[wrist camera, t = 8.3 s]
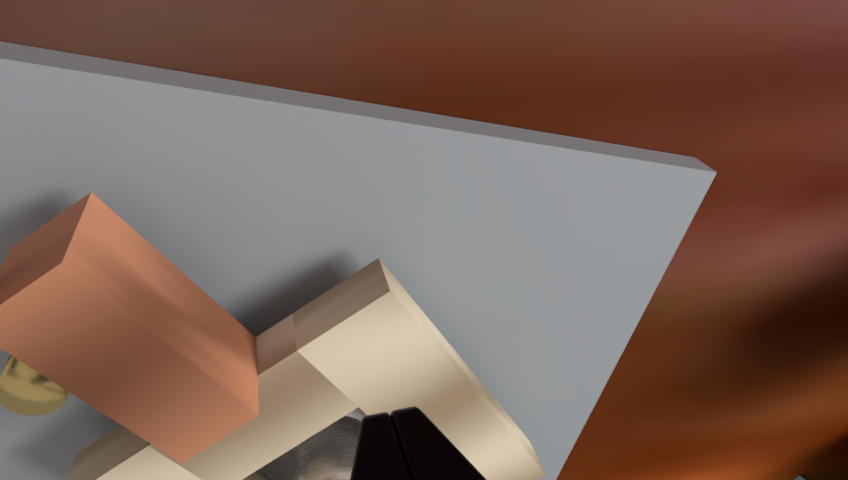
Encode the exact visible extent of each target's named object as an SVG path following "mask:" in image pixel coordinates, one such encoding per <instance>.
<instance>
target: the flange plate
mask: <svg viewBox="0 0 848 480" xmlns="http://www.w3.org/2000/svg"><path fill="white" fill-rule="evenodd" d="M0 349H2V350H4V351H5V352H7V353H8V354H10V355H11V356H13V357H15V358H16V359H18V360H19V361H21V362H23V363H24V364H26V365H27V366H29V367H30V368H32V369H34V370H35V371H37V372H38V373H40V374H41V375H43V376H45V377H46V378H48V379H49V380H51V381H53V382H54V383H56V384H57V385H59V386H60V387H62V388H64V389H65V390H67V391H68V392H70V393H71V394H73V395H75V396H76V397H78V398H79V399H81V400H83V401H84V402H86V403H87V404H89V405H90V406H92V407H94V408H95V409H97V410H98V411H100V412H102V413H103V414H105V415H106V416H108V417H109V418H111V419H113V420H114V421H116V422H117V423H119V424H120V426H118V427H116V428H115V429H113V430H112V431H110V432H109V433H107V434H106V435H104V436H103V437H101V438H99V439H98V440H96V441H95V442H93V443H92V444H90V445H89V446H87V447H86V448H84V449H82V450H81V451H79V452H78V453H76V454H75V456H74V460H73V463H72V467H71V471H70V475H69V479H68V480H266V479H264V478H263V477H262V476H260V475H259V474H257V473H256V472H255V471H257V470H258V469H260V468H262V467H263V466H265V465H266V464H268V463H270V462H271V461H273V460H274V459H276V458H278V457H279V456H281V455H282V454H284V453H286V452H287V451H289V450H290V449H292V448H294V447H295V446H297V445H298V444H300V443H302V442H303V441H305V440H307V439H308V438H310V437H311V436H313V435H315V434H316V433H318V432H319V431H321V430H323V429H324V428H326V427H327V426H329V425H331V424H332V423H334V422H335V421H337V420H339V419H340V418H342V417H343V416H345V415H347V414H348V413H350V412H351V411H353V410H355V409H356V408H358V407H359V408H360V409H361V410H362V411H363V412H364V413H365V414H366V415H372V414H377V413H382V412H387V413H389V414H391V412H392V411H394V410H397V409H402V408H407V407H412V406H415V407H418V408H419V409H420V410H421V411H422V412H423V413H424V414H425V415H426V416H427V417H428V418H429V419H430V420H431V421H432V422H433V423H434V424H435V425H436V426H437V427H438V429H439V430H440V431H441V432H442V433H443V434H444V435H445V436H446V437H447V438H448V439H449V440H450V441H451V442H452V443H453V444H454V446H455V447H456V448H457V449H458V450H459V451H460V452H461V453H462V454H463V455H464V456H465V457H466V458H467V459H468V460H469V461H470V463H471V464H472V465H473V466H474V467H475V468H476V469H477V470H478V471H479V472H480V473H481V474H482V475H483V476H484V477H485V478H486V480H539V479H540V478H542V477H544V476H545V475H546V474H545V472H544V470H543V468H542V466H541V464H540V462H539V460H538V458H537V456H536V453H535V451H534V449H533V447H532V445H531V443H530V441H529V440H528V439H527V437H526V436H525V435H524V434H523V432H522V431H521V430H520V429H519V428H518V426H517V425H516V424H515V423H514V422H513V420H512V419H511V418H510V417H509V415H508V414H507V413H506V412H505V411H504V409H503V408H502V407H501V406H500V405H499V403H498V402H497V401H496V400H495V398H494V397H493V396H492V395H491V394H490V392H489V391H488V390H487V389H486V388H485V386H484V385H483V384H482V383H481V381H480V380H479V379H478V378H477V377H476V375H475V374H474V373H473V372H472V371H471V369H470V368H469V367H468V366H467V364H466V363H465V362H464V361H463V360H462V358H461V357H460V356H459V355H458V354H457V352H456V351H455V350H454V349H453V347H452V346H451V345H450V344H449V343H448V341H447V340H446V339H445V338H444V337H443V335H442V334H441V333H440V332H439V330H438V329H437V328H436V327H435V326H434V324H433V323H432V322H431V321H430V320H429V318H428V317H427V316H426V315H425V313H424V312H423V311H422V310H421V309H420V307H419V306H418V305H417V304H416V303H415V301H414V300H413V299H412V298H411V296H410V295H409V294H408V293H407V292H406V290H405V289H404V288H403V287H402V286H401V284H400V283H399V282H398V281H397V279H396V278H395V277H394V276H393V275H392V273H391V272H390V271H389V270H388V269H387V267H386V266H385V265H384V264H383V262H382V261H381V260H380V259H379V258H378V259H376V260H375V261H373V262H371V263H370V264H368V265H367V266H365V267H364V268H362V269H361V270H359V271H358V272H356V273H354V274H353V275H351V276H350V277H348V278H347V279H345V280H344V281H342V282H341V283H339V284H337V285H336V286H334V287H333V288H331V289H330V290H328V291H327V292H325V293H324V294H322V295H320V296H319V297H317V298H316V299H314V300H313V301H311V302H310V303H308V304H307V305H305V306H303V307H302V308H300V309H299V310H297V311H296V312H294V313H293V314H291V315H290V316H288V317H286V318H285V319H283V320H282V321H280V322H279V323H277V324H276V325H274V326H273V327H271V328H269V329H268V330H266V331H265V332H263V333H262V334H260V335H259V336H257V337H255V336H254V335H253V334H252V333H251V332H249V331H248V330H247V329H246V328H245V327H244V326H243V325H241V324H240V323H239V322H238V321H237V320H236V319H235V318H234V317H232V316H231V315H230V314H229V313H228V312H227V311H226V310H224V309H223V308H222V307H221V306H220V305H219V304H218V303H217V302H215V301H214V300H213V299H212V298H211V297H210V296H209V295H208V294H206V293H205V292H204V291H203V290H202V289H201V288H200V287H198V286H197V285H196V284H195V283H194V282H193V281H192V280H191V279H189V278H188V277H187V276H186V275H185V274H184V273H183V272H181V271H180V270H179V269H178V268H177V267H176V266H175V265H174V264H172V263H171V262H170V261H169V260H168V259H167V258H166V257H165V256H163V255H162V254H161V253H160V252H159V251H158V250H157V249H155V248H154V247H153V246H152V245H151V244H150V243H149V242H148V241H146V240H145V239H144V238H143V237H142V236H141V235H140V234H138V233H137V232H136V231H135V230H134V229H133V228H132V227H131V226H129V225H128V224H127V223H126V222H125V221H124V220H123V219H121V218H120V217H119V216H118V215H117V214H116V213H115V212H114V211H112V210H111V209H110V208H109V207H108V206H107V205H106V204H105V203H103V202H102V201H101V200H100V199H99V198H98V197H97V196H95V195H94V194H93V193H92V192H91V193H89V194H88V195H86V196H85V197H83V198H82V199H80V200H79V201H78V202H76V203H75V204H73V205H72V206H70V207H69V208H68V209H66V210H65V211H63V212H62V213H60V214H59V215H57V216H56V217H55V218H53V219H52V220H50V221H49V222H47V223H46V224H44V225H43V226H42V227H40V228H39V229H37V230H36V231H34V232H33V233H31V234H30V235H29V236H27V237H26V238H24V239H23V240H21V241H20V242H19V243H17V244H16V245H14V246H13V247H12V248H11V250H10V252H9V253H8V255H7V257H6V259H5V260H4V262H3V264H2V266H1V268H0Z"/></svg>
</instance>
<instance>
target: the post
mask: <svg viewBox="0 0 848 480" xmlns="http://www.w3.org/2000/svg"><path fill="white" fill-rule="evenodd" d="M364 416H367V415H366V414H365V413H364V412H363V411H362V410H361V409H360V408H359V407H358V408H356V409H355V410H353V411H351V412H350V413H348V414H347V415H345V416H343V417H342V418H340V419H339V420H337V421H335V422H334V423H332V424H331V425H329V426H327V427H326V428H324V429H323V430H321V431H319V432H318V433H316V434H315V435H313V436H311V437H310V438H308V439H307V440H305V441H303V442H302V443H300V444H298V445H297V446H295V447H294V448H292V449H290V450H289V451H287V452H286V453H284V454H282V455H281V456H279V457H278V458H276V459H274V460H273V461H271V462H270V463H268V464H266V465H265V466H263V467H262V468H260V469H258V470H257V471H255V472H256V473H257V474H259V475H260V476H262V477H263V478H264V479H266V480H350V477H351V472H352V467H353V462H354V456H355V451H356V446H357V441H358V436H359V431H360V425H361V421H362V419H363V417H364Z"/></svg>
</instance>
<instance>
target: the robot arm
mask: <svg viewBox="0 0 848 480" xmlns="http://www.w3.org/2000/svg"><path fill="white" fill-rule="evenodd" d="M350 480H486V478H485V477H484V476H483V475H482V474H481V473H480V472H479V471H478V470H477V469H476V468H475V467H474V466H473V465H472V464H471V463H470V461H469V460H468V459H467V458H466V457H465V456H464V455H463V454H462V453H461V452H460V451H459V450H458V449H457V448H456V447H455V446H454V444H453V443H452V442H451V441H450V440H449V439H448V438H447V437H446V436H445V435H444V434H443V433H442V432H441V431H440V430H439V429H438V427H437V426H436V425H435V424H434V423H433V422H432V421H431V420H430V419H429V418H428V417H427V416H426V415H425V414H424V413H423V412H422V411H421V410H420V409H419V408H418V407H415V406H412V407H407V408H402V409H397V410H394V411H392V412H391V414H389V413H387V412H382V413H377V414H372V415H367V416H364V417H363V419H362V421H361V425H360V431H359V436H358V441H357V446H356V451H355V456H354V462H353V467H352V472H351V477H350Z"/></svg>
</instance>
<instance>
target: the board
mask: <svg viewBox="0 0 848 480" xmlns="http://www.w3.org/2000/svg"><path fill="white" fill-rule="evenodd" d="M716 173H717V172H716V171H714V170H713V169H711V168H710V167H708V166H707V165H705V164H704V163H702V162H701V161H699V160H698V159H696V158H695V157H689V156H683V155H677V154H671V153H665V152H659V151H653V150H647V149H641V148H635V147H629V146H623V145H618V144H612V143H606V142H600V141H594V140H588V139H582V138H576V137H570V136H564V135H558V134H552V133H546V132H540V131H534V130H528V129H522V128H516V127H510V126H504V125H498V124H492V123H486V122H480V121H474V120H468V119H462V118H456V117H450V116H444V115H438V114H432V113H426V112H420V111H414V110H408V109H402V108H396V107H390V106H384V105H378V104H372V103H366V102H360V101H354V100H348V99H342V98H336V97H330V96H324V95H318V94H312V93H306V92H300V91H294V90H288V89H282V88H276V87H270V86H264V85H258V84H252V83H246V82H240V81H234V80H229V79H223V78H217V77H211V76H205V75H199V74H193V73H187V72H181V71H175V70H169V69H163V68H157V67H151V66H145V65H139V64H133V63H127V62H121V61H115V60H109V59H103V58H97V57H91V56H85V55H79V54H73V53H67V52H61V51H55V50H49V49H43V48H37V47H31V46H25V45H19V44H13V43H7V42H1V41H0V268H1V266H2V264H3V262H4V260H5V259H6V257H7V255H8V253H9V252H10V250H11V248H12V247H13V246H14V245H16V244H17V243H19V242H20V241H21V240H23V239H24V238H26V237H27V236H29V235H30V234H31V233H33V232H34V231H36V230H37V229H39V228H40V227H42V226H43V225H44V224H46V223H47V222H49V221H50V220H52V219H53V218H55V217H56V216H57V215H59V214H60V213H62V212H63V211H65V210H66V209H68V208H69V207H70V206H72V205H73V204H75V203H76V202H78V201H79V200H80V199H82V198H83V197H85V196H86V195H88V194H89V193H91V192H92V193H93V194H94V195H95V196H97V197H98V198H99V199H100V200H101V201H102V202H103V203H105V204H106V205H107V206H108V207H109V208H110V209H111V210H112V211H114V212H115V213H116V214H117V215H118V216H119V217H120V218H121V219H123V220H124V221H125V222H126V223H127V224H128V225H129V226H131V227H132V228H133V229H134V230H135V231H136V232H137V233H138V234H140V235H141V236H142V237H143V238H144V239H145V240H146V241H148V242H149V243H150V244H151V245H152V246H153V247H154V248H155V249H157V250H158V251H159V252H160V253H161V254H162V255H163V256H165V257H166V258H167V259H168V260H169V261H170V262H171V263H172V264H174V265H175V266H176V267H177V268H178V269H179V270H180V271H181V272H183V273H184V274H185V275H186V276H187V277H188V278H189V279H191V280H192V281H193V282H194V283H195V284H196V285H197V286H198V287H200V288H201V289H202V290H203V291H204V292H205V293H206V294H208V295H209V296H210V297H211V298H212V299H213V300H214V301H215V302H217V303H218V304H219V305H220V306H221V307H222V308H223V309H224V310H226V311H227V312H228V313H229V314H230V315H231V316H232V317H234V318H235V319H236V320H237V321H238V322H239V323H240V324H241V325H243V326H244V327H245V328H246V329H247V330H248V331H249V332H251V333H252V334H253V335H254V336H255V337H257V336H259V335H260V334H262V333H263V332H265V331H266V330H268V329H269V328H271V327H273V326H274V325H276V324H277V323H279V322H280V321H282V320H283V319H285V318H286V317H288V316H290V315H291V314H293V313H294V312H296V311H297V310H299V309H300V308H302V307H303V306H305V305H307V304H308V303H310V302H311V301H313V300H314V299H316V298H317V297H319V296H320V295H322V294H324V293H325V292H327V291H328V290H330V289H331V288H333V287H334V286H336V285H337V284H339V283H341V282H342V281H344V280H345V279H347V278H348V277H350V276H351V275H353V274H354V273H356V272H358V271H359V270H361V269H362V268H364V267H365V266H367V265H368V264H370V263H371V262H373V261H375V260H376V259H378V258H379V259H380V260H381V261H382V262H383V264H384V265H385V266H386V267H387V269H388V270H389V271H390V272H391V273H392V275H393V276H394V277H395V278H396V279H397V281H398V282H399V283H400V284H401V286H402V287H403V288H404V289H405V290H406V292H407V293H408V294H409V295H410V296H411V298H412V299H413V300H414V301H415V303H416V304H417V305H418V306H419V307H420V309H421V310H422V311H423V312H424V313H425V315H426V316H427V317H428V318H429V320H430V321H431V322H432V323H433V324H434V326H435V327H436V328H437V329H438V330H439V332H440V333H441V334H442V335H443V337H444V338H445V339H446V340H447V341H448V343H449V344H450V345H451V346H452V347H453V349H454V350H455V351H456V352H457V354H458V355H459V356H460V357H461V358H462V360H463V361H464V362H465V363H466V364H467V366H468V367H469V368H470V369H471V371H472V372H473V373H474V374H475V375H476V377H477V378H478V379H479V380H480V381H481V383H482V384H483V385H484V386H485V388H486V389H487V390H488V391H489V392H490V394H491V395H492V396H493V397H494V398H495V400H496V401H497V402H498V403H499V405H500V406H501V407H502V408H503V409H504V411H505V412H506V413H507V414H508V415H509V417H510V418H511V419H512V420H513V422H514V423H515V424H516V425H517V426H518V428H519V429H520V430H521V431H522V432H523V434H524V435H525V436H526V437H527V439H528V440H529V441H530V443H531V445H532V447H533V449H534V451H535V453H536V456H537V458H538V460H539V462H540V464H541V466H542V468H543V470H544V472H545V474H546V475H545V476H544V477H542V478H540V479H539V480H556V478H557V477H558V475H559V473H560V471H561V469H562V467H563V465H564V463H565V461H566V459H567V457H568V456H569V454H570V452H571V450H572V448H573V446H574V444H575V442H576V440H577V438H578V436H579V435H580V433H581V431H582V429H583V427H584V425H585V423H586V421H587V419H588V417H589V415H590V414H591V412H592V410H593V408H594V406H595V404H596V402H597V400H598V398H599V396H600V395H601V393H602V391H603V389H604V387H605V385H606V383H607V381H608V379H609V377H610V375H611V374H612V372H613V370H614V368H615V366H616V364H617V362H618V360H619V358H620V356H621V354H622V353H623V351H624V349H625V347H626V345H627V343H628V341H629V339H630V337H631V335H632V333H633V332H634V330H635V328H636V326H637V324H638V322H639V320H640V318H641V316H642V314H643V312H644V311H645V309H646V307H647V305H648V303H649V301H650V299H651V297H652V295H653V293H654V291H655V290H656V288H657V286H658V284H659V282H660V280H661V278H662V276H663V274H664V272H665V270H666V269H667V267H668V265H669V263H670V261H671V259H672V257H673V255H674V253H675V251H676V250H677V248H678V246H679V244H680V242H681V240H682V238H683V236H684V234H685V232H686V230H687V229H688V227H689V225H690V223H691V221H692V219H693V217H694V215H695V213H696V211H697V209H698V208H699V206H700V204H701V202H702V200H703V198H704V196H705V194H706V192H707V190H708V188H709V187H710V185H711V183H712V181H713V179H714V177H715V175H716ZM9 356H10V354H8V353H7V352H5V351H4V350H2V349H0V376H1V374H2V372H3V369H4V367H5V365H6V363H7V360H8V358H9ZM118 426H120V424H119V423H117V422H116V421H114V420H113V419H111V418H109V417H108V416H106V415H105V414H103V413H102V412H100V411H98V410H97V409H95V408H94V407H92V406H90V405H89V404H87V403H86V402H84V401H83V400H81V399H79V398H78V397H76V396H75V395H73V394H71V393H70V392H69V394H68V397H67V400H66V402H65V403H64V404H63V405H62V406H61V407H60V408H59V409H57V410H55V411H53V412H51V413H48V414H44V415H23V414H18V413H15V412H12V411H10V410H8V409H7V408H5V407H4V406H2V405H1V404H0V480H68V479H69V475H70V471H71V467H72V463H73V460H74V456H75V454H76V453H78V452H79V451H81V450H82V449H84V448H86V447H87V446H89V445H90V444H92V443H93V442H95V441H96V440H98V439H99V438H101V437H103V436H104V435H106V434H107V433H109V432H110V431H112V430H113V429H115V428H116V427H118Z"/></svg>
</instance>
